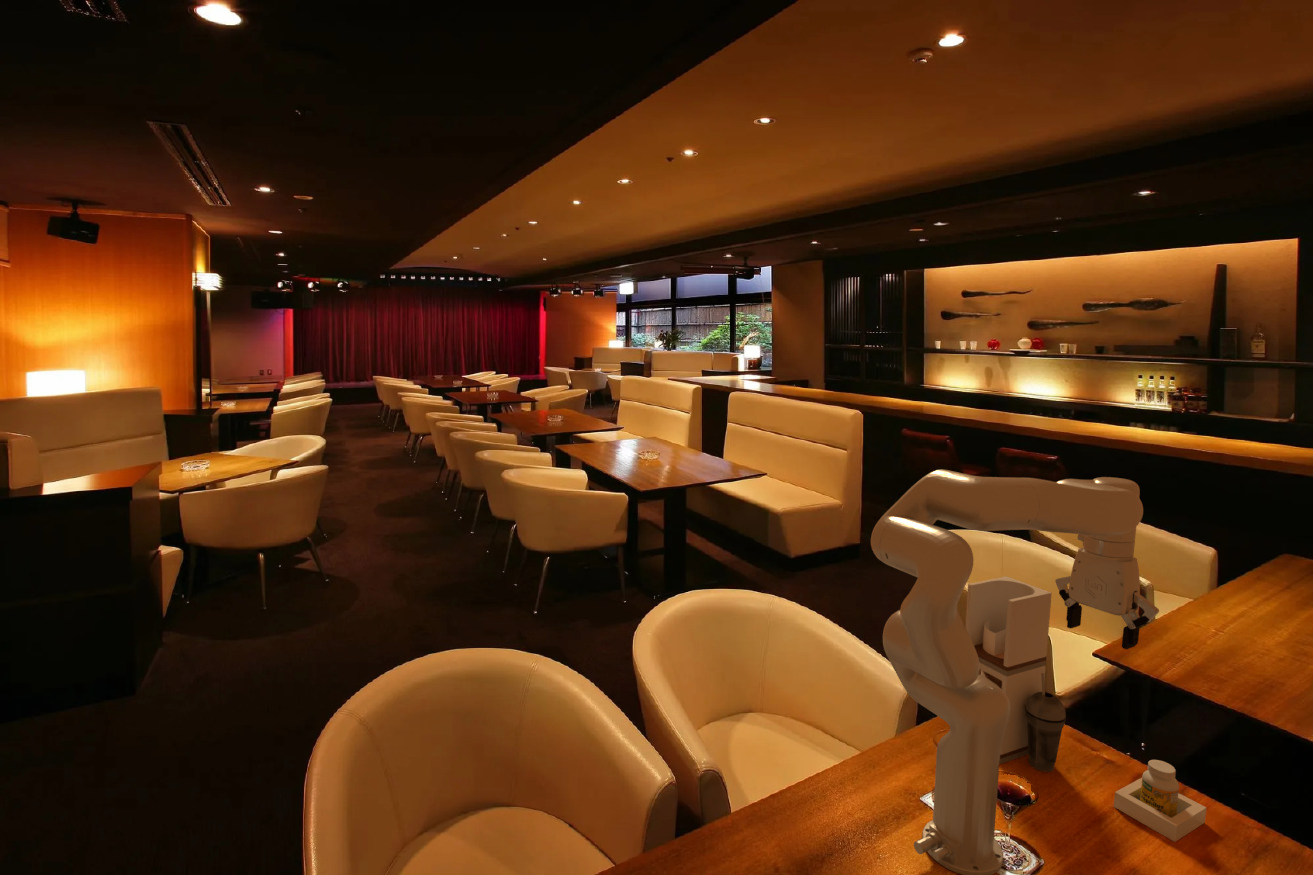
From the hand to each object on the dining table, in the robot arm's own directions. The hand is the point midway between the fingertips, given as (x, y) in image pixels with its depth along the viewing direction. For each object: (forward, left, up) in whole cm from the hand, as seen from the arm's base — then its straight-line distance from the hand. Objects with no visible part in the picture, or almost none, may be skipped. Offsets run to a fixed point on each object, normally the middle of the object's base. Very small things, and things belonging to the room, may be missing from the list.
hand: (1100, 636), depth 123 cm
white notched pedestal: (+1, +19, -32) cm, 38 cm away
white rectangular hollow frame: (+7, -9, -32) cm, 34 cm away
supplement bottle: (+7, -9, -32) cm, 34 cm away
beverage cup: (+2, +10, -32) cm, 34 cm away
